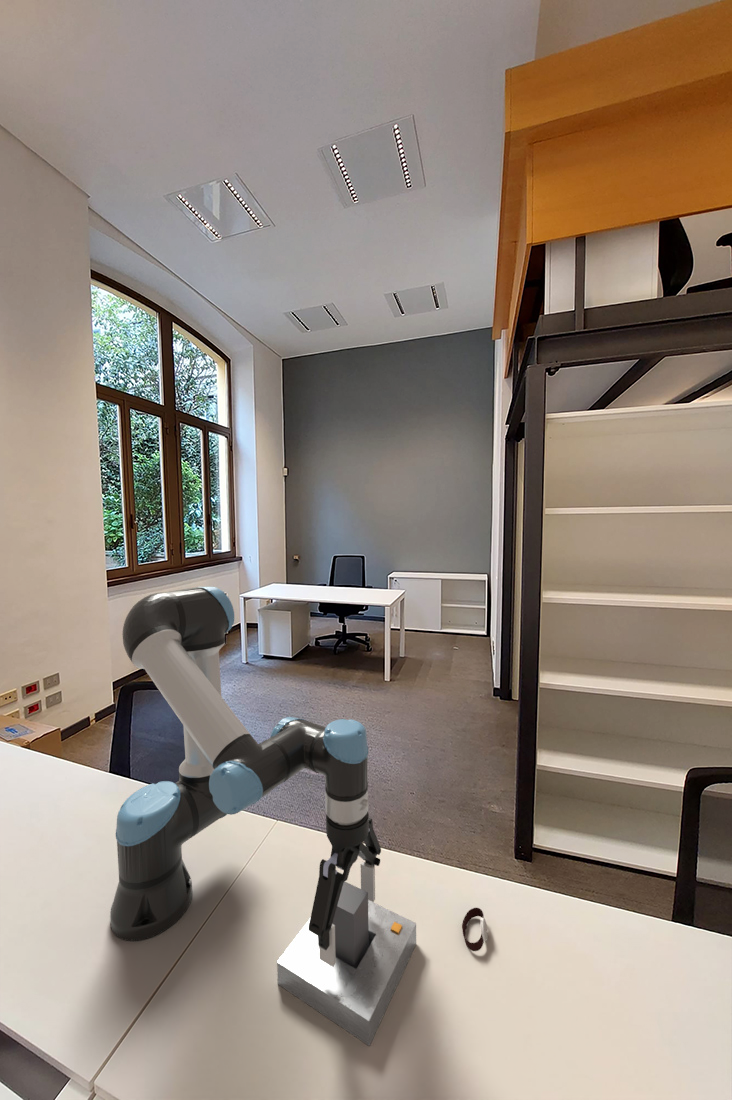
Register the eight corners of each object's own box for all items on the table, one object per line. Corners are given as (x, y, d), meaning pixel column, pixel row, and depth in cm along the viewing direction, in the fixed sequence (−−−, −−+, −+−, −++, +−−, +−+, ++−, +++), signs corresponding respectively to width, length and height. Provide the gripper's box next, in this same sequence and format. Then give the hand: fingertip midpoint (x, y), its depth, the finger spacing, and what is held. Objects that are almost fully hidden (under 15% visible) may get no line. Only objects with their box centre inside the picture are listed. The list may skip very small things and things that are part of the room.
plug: (330, 966, 75) (329, 902, 74) (345, 942, 79) (344, 881, 79) (354, 981, 73) (353, 914, 72) (369, 955, 77) (367, 892, 76)
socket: (277, 984, 73) (277, 960, 72) (336, 902, 88) (335, 882, 88) (369, 1046, 64) (368, 1019, 63) (416, 943, 79) (416, 921, 79)
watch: (486, 958, 76) (486, 939, 76) (459, 950, 78) (459, 931, 78) (488, 921, 84) (488, 903, 84) (464, 914, 85) (464, 897, 85)
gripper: (323, 870, 62) (326, 1007, 63) (397, 780, 83) (398, 883, 85) (283, 851, 66) (287, 981, 67) (364, 770, 87) (365, 869, 88)
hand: (349, 927), depth 76 cm, fingers open, 13 cm apart
